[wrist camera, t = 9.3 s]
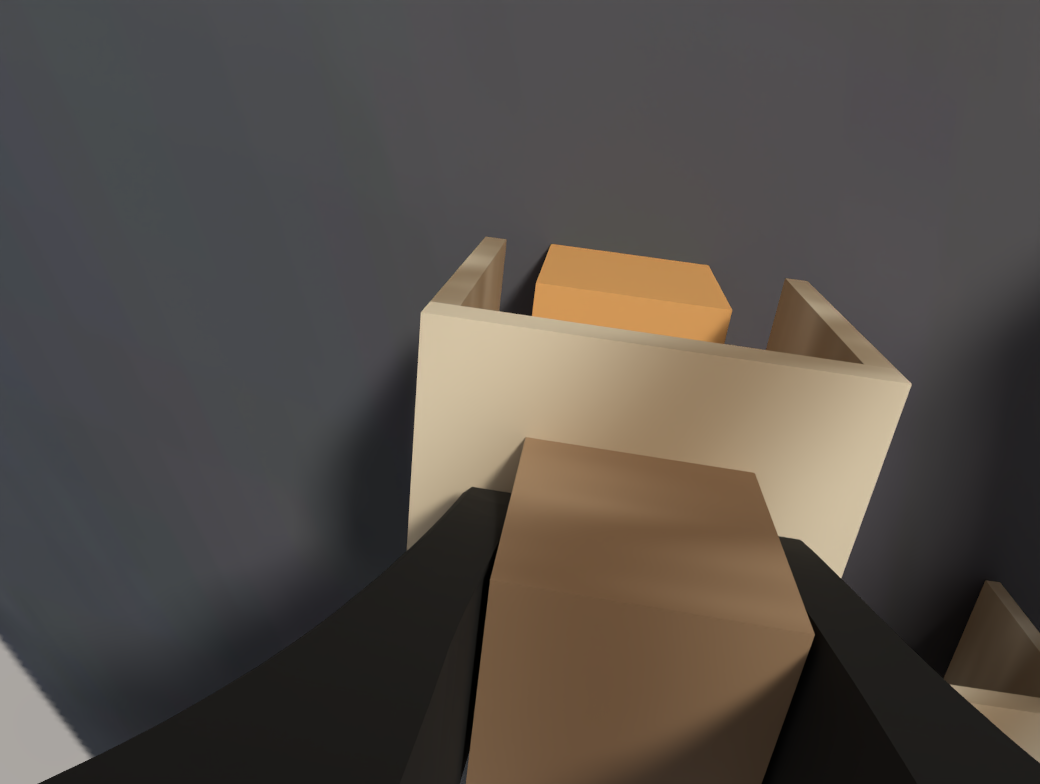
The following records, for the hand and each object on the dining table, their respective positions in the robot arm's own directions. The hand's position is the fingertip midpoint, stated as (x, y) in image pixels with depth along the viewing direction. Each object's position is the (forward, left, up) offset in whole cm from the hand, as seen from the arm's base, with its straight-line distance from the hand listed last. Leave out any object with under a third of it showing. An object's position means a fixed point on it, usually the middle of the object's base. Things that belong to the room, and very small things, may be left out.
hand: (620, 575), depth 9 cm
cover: (0, 0, -6) cm, 6 cm away
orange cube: (0, 0, -10) cm, 10 cm away
